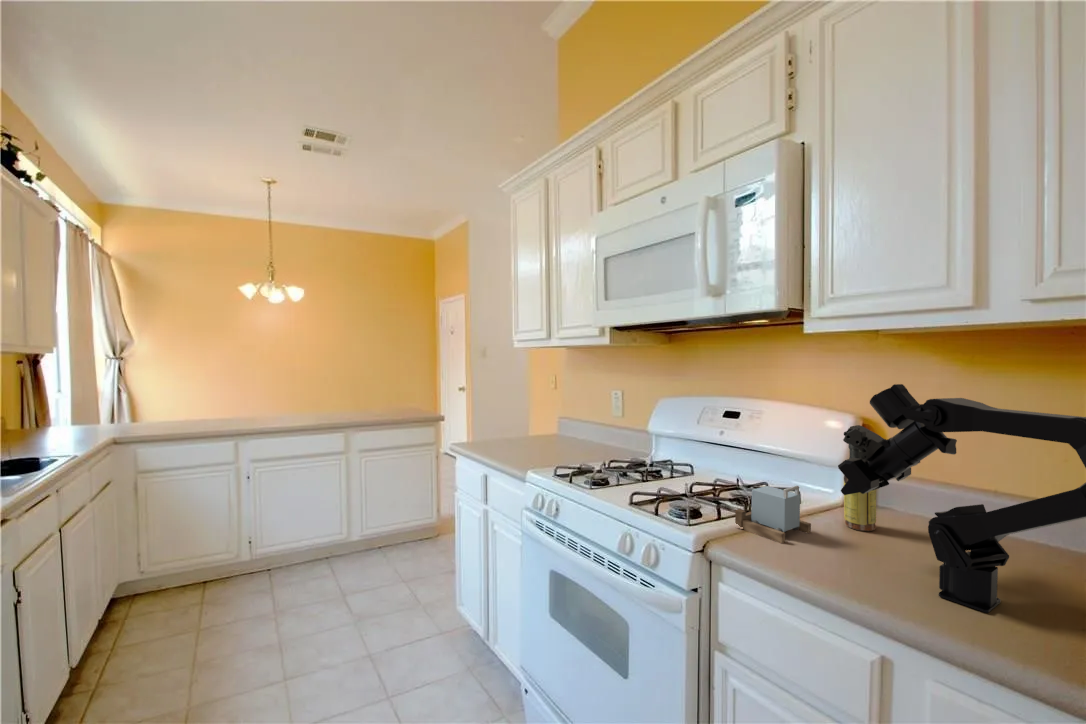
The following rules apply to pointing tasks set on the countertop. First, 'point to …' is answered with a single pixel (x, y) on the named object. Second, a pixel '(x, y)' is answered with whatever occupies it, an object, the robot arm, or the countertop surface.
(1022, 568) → the countertop surface
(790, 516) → the cart
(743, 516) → the bay
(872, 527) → the sauce bottle
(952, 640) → the countertop surface
